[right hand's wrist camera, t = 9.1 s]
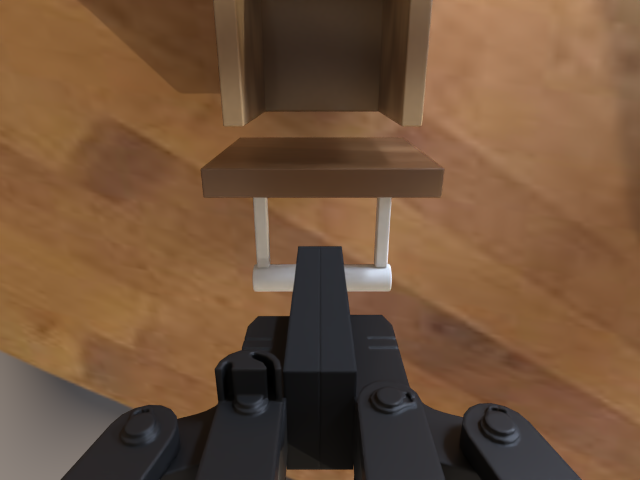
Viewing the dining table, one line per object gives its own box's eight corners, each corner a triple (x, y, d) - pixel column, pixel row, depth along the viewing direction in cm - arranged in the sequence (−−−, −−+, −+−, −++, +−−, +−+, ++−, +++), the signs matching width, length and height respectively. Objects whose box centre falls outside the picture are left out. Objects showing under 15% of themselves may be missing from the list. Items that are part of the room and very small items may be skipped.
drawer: (396, 244, 27) (429, 317, 19) (247, 244, 27) (215, 317, 19) (430, -238, 19) (514, -477, 11) (213, -238, 19) (132, -478, 11)
